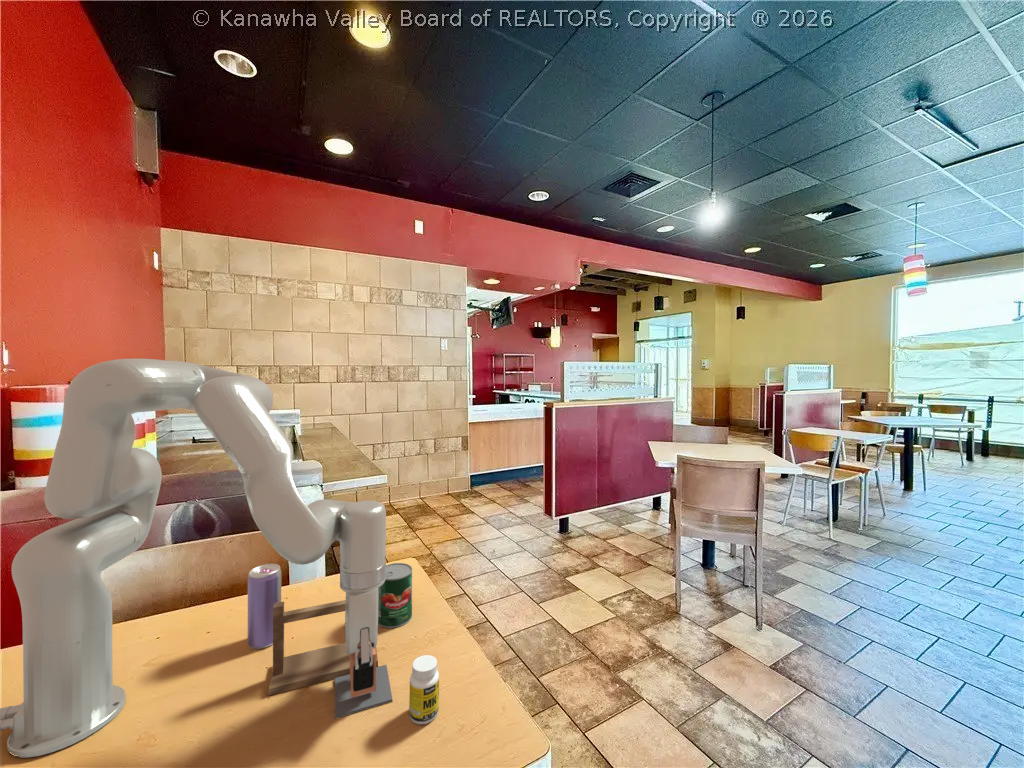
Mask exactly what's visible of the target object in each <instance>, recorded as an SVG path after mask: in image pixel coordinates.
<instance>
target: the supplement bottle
mask: <svg viewBox="0 0 1024 768" xmlns="http://www.w3.org/2000/svg"><path fill="white" fill-rule="evenodd" d="M411 666H412V670H411V674H410V677H409V701H408V703H409V706H408V708H409V710H408V714H409V719H410V720H411V722H413V723H414V724H417V725H426V724H429V723H431V722H432V721H433V720H435V719H436V717H437V715H438V713H439V709H440V708H439V703H440V702H439V701H440V700H439V698H440V697H439V695H440V692H439V691H440V673H439V670H438V660H437V658H436V657H435V656H433V655H428V654H424V655H421V656H418V657H417V658H415V659H414V660H413V661H412V665H411Z"/></svg>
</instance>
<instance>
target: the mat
mask: <svg viewBox="0 0 1024 768" xmlns="http://www.w3.org/2000/svg"><path fill="white" fill-rule="evenodd" d="M387 665H388V664H383V665H380V666H379V665H378V667H376V691H373V692H370V693H366V694H363V695H359V696H356V697H352V698H351V681H350V674H349V675H345V676H341V677H337V678H334V718H335V719H339V718H341V717H345V716H348V715H352V714H355V713H358V712H362V711H365V710H368V709H373V708H375V707H378V706H382V705H385V704H389V703H391V702H393V694H392V689H391V683H390V677H389V671H388V666H387Z"/></svg>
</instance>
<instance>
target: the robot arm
mask: <svg viewBox="0 0 1024 768" xmlns="http://www.w3.org/2000/svg"><path fill="white" fill-rule="evenodd" d="M273 405H274V396H273V393H272V390H271V388H270V387H269V385H268V384H267V383H266V382H264V381H263V380H261V379H259V378H257V377H255V376H251V375H247V374H241V373H237V372H233V371H228V370H223V369H219V368H216V367H211V366H208V365H204V364H198V363H195V362H194V363H193V362H188V361H182V360H181V361H179V360H165V359H156V358H154V359H153V358H120V359H118V358H117V359H113V360H111V359H110V360H106V361H101V362H98V363H96V364H93V365H91V366H88V367H87V368H85V369H83V370H81V371H80V372H79V373H78V374H77V375H75V377H73V379H72V380H71V382H70V383H69V385H68V387H67V389H66V392H65V395H64V401H63V409H62V421H61V425H60V431H59V435H58V438H57V441H56V444H55V445H56V446H55V449H54V452H53V453H54V454H53V457H52V461H51V466H50V468H49V469H50V470H49V474H48V477H47V482H46V485H45V490H44V497H43V499H44V504H45V505H44V506H45V507H46V509H47V511H48V512H49V513H50V514H51V515H53V516H54V517H56V518H60V519H66V520H70V521H68V522H65V523H62V524H59V525H58V526H57V525H56V526H55V527H51V528H50V529H48V530H45V531H43V532H41V533H40V534H38V535H35V536H34V537H32V538H30V540H29V541H27V542H26V543H24V545H22V546H21V548H20V549H19V550H18V552H17V553H15V556H14V558H13V560H12V563H11V576H12V577H11V578H12V581H13V584H14V586H15V588H16V592H17V596H18V598H19V603H20V608H21V609H20V610H21V617H22V618H21V621H22V663H23V664H22V669H23V670H22V671H23V672H22V673H23V674H22V676H23V678H22V680H23V681H22V682H23V683H22V684H23V694H22V695H23V696H22V697H23V702H22V703H20V704H16V705H9V706H5V707H0V732H2V731H3V730H4V731H5V730H7V729H9V730H12V731H11V733H10V734H9V736H8V738H7V741H6V749H8V750H9V752H11V753H12V754H14V755H17V756H19V757H20V758H21V759H22V758H33V757H41V756H44V755H48V754H52V753H54V752H57V751H60V750H62V749H65V748H68V747H70V746H72V745H74V744H76V743H78V742H80V741H82V740H84V739H86V738H88V737H89V736H91V735H93V734H95V733H96V732H97V731H99V730H101V729H102V728H103V727H105V726H106V725H107V724H109V722H110V721H112V720H113V719H114V718H115V717H116V716H117V715H118V714H119V713H120V711H121V710H122V709H123V707H124V705H125V703H126V695H127V694H126V691H125V689H124V688H123V687H122V686H119V685H115V684H113V678H114V677H113V672H114V671H113V599H112V595H111V592H110V590H109V589H108V587H107V585H106V584H105V582H103V580H102V577H101V575H102V574H101V573H102V572H103V571H104V570H106V569H108V568H109V567H112V566H113V565H114V564H115V565H116V564H117V563H118V562H120V561H121V560H123V559H125V558H127V557H129V556H130V555H132V554H133V553H134V552H136V551H137V550H139V548H141V546H143V544H144V542H145V540H146V539H147V537H148V535H149V533H150V530H151V527H152V522H153V518H154V514H155V510H156V506H157V501H158V499H159V498H158V497H159V493H160V489H161V486H162V485H161V484H162V480H163V473H162V472H163V471H162V468H161V464H160V463H159V461H158V459H157V458H156V457H155V456H154V454H152V453H151V452H150V451H148V450H146V449H143V448H138V447H134V442H135V440H136V431H137V430H136V425H135V424H136V423H135V421H134V418H133V415H134V414H135V413H136V414H137V413H145V412H147V413H148V412H157V411H159V412H160V411H168V410H177V409H184V410H192V411H194V412H195V414H196V415H197V417H198V418H199V419H200V421H201V422H202V424H203V425H204V427H206V429H207V430H208V432H209V434H211V435H212V436H213V438H214V440H215V441H216V443H218V445H219V446H220V447H221V448H222V450H223V451H224V453H225V454H226V455H227V457H228V458H229V459H230V461H231V462H232V463H233V465H234V466H235V467H236V468H237V471H238V472H239V473H240V474H241V477H242V481H243V489H244V492H245V493H244V494H245V497H246V500H247V504H248V508H249V511H250V514H251V517H252V519H253V520H254V522H255V525H256V527H257V528H258V529H259V531H260V532H261V533H262V535H263V536H264V537H265V539H266V540H267V541H268V543H269V544H270V546H272V548H273V549H274V550H275V551H276V553H278V555H279V556H281V557H282V558H283V559H284V560H286V561H288V562H290V563H291V564H295V565H308V564H311V563H314V562H316V561H318V560H319V559H321V558H322V557H323V556H324V555H325V554H326V553H327V551H328V550H329V549H330V547H331V546H332V544H333V543H335V542H339V546H340V547H339V549H340V550H339V587H340V589H341V591H343V592H345V600H346V602H345V605H346V606H345V611H344V613H345V616H344V617H345V618H344V620H345V623H344V624H345V625H344V628H345V629H344V631H345V632H344V634H345V636H344V637H345V639H344V640H345V643H346V652H347V654H349V655H350V654H352V653H355V666H354V667H353V690H354V691H359V690H363V689H366V688H370V687H372V686H373V684H374V662H373V653H372V648H373V649H374V648H375V647H376V648H377V645H378V634H379V630H378V629H379V625H378V604H379V587H380V586H381V585H382V584H383V583H384V582H385V576H386V565H387V563H386V562H387V561H386V560H387V559H386V558H387V557H386V556H387V554H386V551H387V550H386V547H387V545H386V544H387V543H386V542H387V539H386V538H387V513H386V512H387V510H386V507H385V505H384V504H383V503H382V502H381V501H380V502H379V501H377V500H359V501H355V502H354V501H343V500H336V499H331V498H330V499H328V498H327V499H318V500H314V501H313V502H310V503H309V504H308V505H307V503H306V502H305V501H304V499H303V497H302V496H301V494H300V493H299V491H298V488H297V487H296V484H295V482H294V478H293V467H292V466H293V460H294V459H293V458H294V447H293V444H292V442H291V440H290V439H289V437H287V435H286V434H285V432H284V431H283V430H282V428H280V426H279V425H278V423H277V422H276V421H275V419H274V418H273V416H272V415H271V414H270V411H271V410H272V407H273ZM369 641H370V644H369ZM358 644H361V646H360V647H358ZM359 652H361V658H359ZM8 750H7V751H8ZM19 757H18V758H19Z"/></svg>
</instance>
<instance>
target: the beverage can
mask: <svg viewBox="0 0 1024 768" xmlns="http://www.w3.org/2000/svg"><path fill="white" fill-rule="evenodd" d="M279 602H282V570H281V566H280V565H279V564H277V563H265V564H261V565H258V566H256V567H254V568H252V569H251V570H249V572H248V576H247V645H248V646H249V648H251V649H252V650H262V649H265V648H269V647H272V646H273V606H274V603H279Z"/></svg>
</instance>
